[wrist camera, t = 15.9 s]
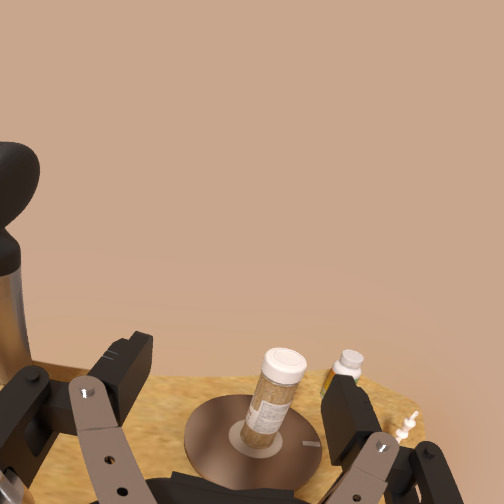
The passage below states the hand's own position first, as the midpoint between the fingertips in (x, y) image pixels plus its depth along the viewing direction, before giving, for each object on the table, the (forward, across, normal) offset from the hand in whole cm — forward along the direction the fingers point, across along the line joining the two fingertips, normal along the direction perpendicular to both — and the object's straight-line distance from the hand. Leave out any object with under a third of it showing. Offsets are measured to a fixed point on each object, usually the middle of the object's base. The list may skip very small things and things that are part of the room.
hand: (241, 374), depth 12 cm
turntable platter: (+15, +5, -24) cm, 29 cm away
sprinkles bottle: (+15, +6, -22) cm, 28 cm away
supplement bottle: (+30, +20, -26) cm, 45 cm away
